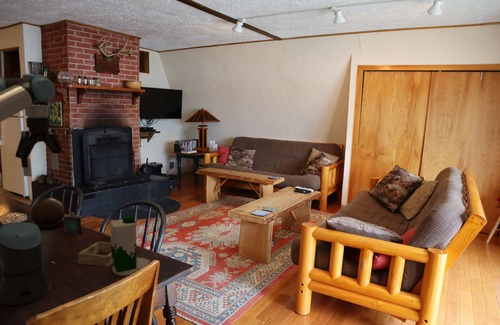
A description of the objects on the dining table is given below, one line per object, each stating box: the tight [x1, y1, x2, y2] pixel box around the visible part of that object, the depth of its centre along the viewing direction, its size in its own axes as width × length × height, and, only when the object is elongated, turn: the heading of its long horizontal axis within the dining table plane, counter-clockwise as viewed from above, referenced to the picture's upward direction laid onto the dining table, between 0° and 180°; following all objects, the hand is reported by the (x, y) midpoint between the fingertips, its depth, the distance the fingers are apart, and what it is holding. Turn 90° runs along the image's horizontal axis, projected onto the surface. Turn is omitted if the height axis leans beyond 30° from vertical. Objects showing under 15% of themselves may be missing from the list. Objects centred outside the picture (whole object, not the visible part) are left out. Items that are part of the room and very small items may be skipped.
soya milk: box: [110, 214, 138, 272], centre depth 136 cm, size 9×9×20 cm
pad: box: [112, 257, 151, 277], centre depth 139 cm, size 14×14×1 cm
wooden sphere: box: [30, 197, 65, 229], centre depth 183 cm, size 15×15×15 cm
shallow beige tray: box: [77, 241, 114, 268], centre depth 147 cm, size 13×13×4 cm
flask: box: [63, 211, 83, 236], centre depth 174 cm, size 9×3×11 cm, turn 76°
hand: (42, 172), depth 137 cm, fingers open, 13 cm apart
